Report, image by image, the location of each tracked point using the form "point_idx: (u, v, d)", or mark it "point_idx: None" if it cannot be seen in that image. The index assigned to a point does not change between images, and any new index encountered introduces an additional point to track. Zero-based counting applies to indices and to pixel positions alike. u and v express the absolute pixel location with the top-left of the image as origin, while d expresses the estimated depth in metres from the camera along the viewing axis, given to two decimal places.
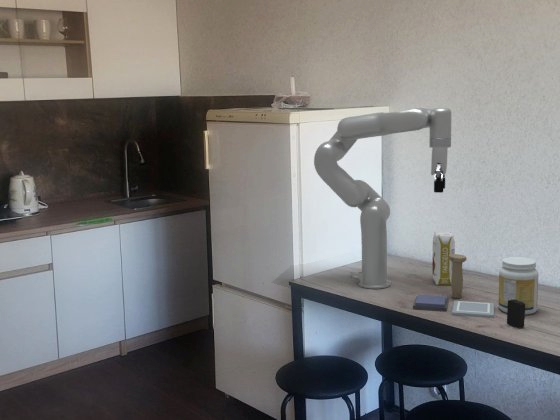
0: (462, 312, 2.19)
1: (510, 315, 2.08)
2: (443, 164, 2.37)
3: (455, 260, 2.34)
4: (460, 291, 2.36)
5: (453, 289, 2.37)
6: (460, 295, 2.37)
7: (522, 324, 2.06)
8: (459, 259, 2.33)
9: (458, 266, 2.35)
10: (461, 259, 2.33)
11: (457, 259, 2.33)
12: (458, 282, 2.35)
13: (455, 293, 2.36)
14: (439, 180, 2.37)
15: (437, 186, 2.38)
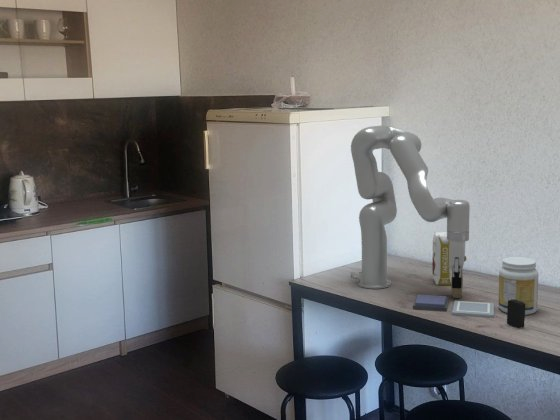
0: (462, 312, 2.19)
1: (510, 315, 2.08)
2: (461, 258, 2.30)
3: None
4: (460, 291, 2.36)
5: (453, 289, 2.37)
6: (460, 295, 2.37)
7: (522, 324, 2.06)
8: None
9: None
10: None
11: None
12: None
13: (455, 293, 2.36)
14: (457, 276, 2.33)
15: (455, 282, 2.34)
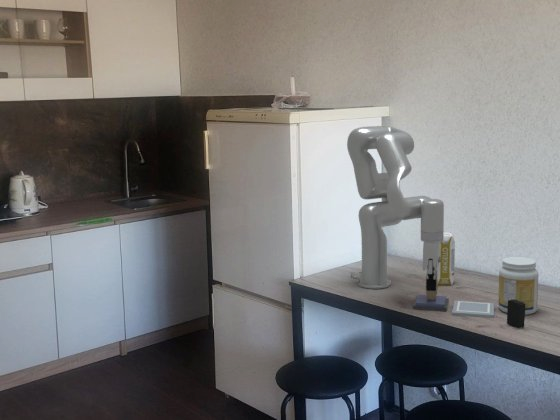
0: (462, 312, 2.19)
1: (510, 315, 2.08)
2: (435, 260, 2.22)
3: None
4: (434, 293, 2.28)
5: (427, 291, 2.28)
6: (435, 297, 2.28)
7: (522, 324, 2.06)
8: None
9: None
10: None
11: None
12: None
13: (429, 295, 2.28)
14: (432, 278, 2.25)
15: (429, 284, 2.26)
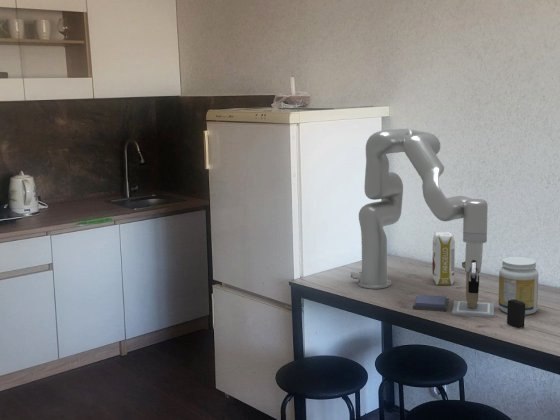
0: (462, 312, 2.19)
1: (510, 315, 2.08)
2: (479, 262, 2.16)
3: None
4: (476, 301, 2.22)
5: (468, 298, 2.23)
6: (476, 305, 2.23)
7: (522, 324, 2.06)
8: None
9: None
10: None
11: None
12: None
13: (470, 303, 2.23)
14: (474, 280, 2.18)
15: (472, 287, 2.19)
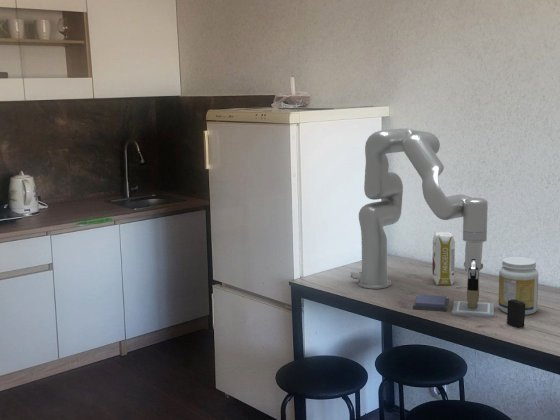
0: (462, 312, 2.19)
1: (510, 315, 2.08)
2: (478, 260, 2.16)
3: None
4: (476, 301, 2.22)
5: (469, 298, 2.23)
6: (476, 305, 2.23)
7: (522, 324, 2.06)
8: None
9: None
10: None
11: None
12: (474, 291, 2.21)
13: (471, 303, 2.23)
14: (474, 278, 2.16)
15: (471, 284, 2.17)
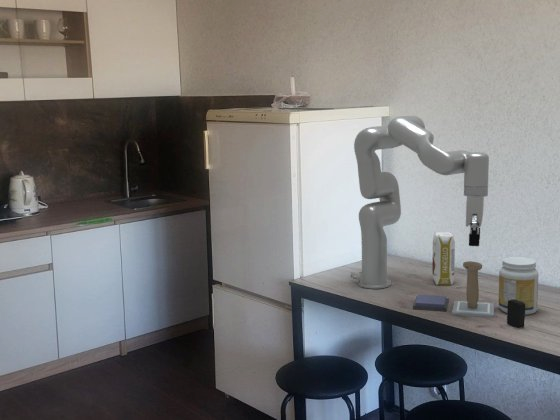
0: (462, 312, 2.19)
1: (510, 315, 2.08)
2: (479, 215, 2.14)
3: (470, 268, 2.19)
4: (476, 301, 2.22)
5: (468, 299, 2.23)
6: (476, 305, 2.23)
7: (522, 324, 2.06)
8: (475, 267, 2.19)
9: (473, 275, 2.21)
10: (476, 267, 2.19)
11: (472, 267, 2.19)
12: (473, 291, 2.21)
13: (471, 303, 2.23)
14: (475, 233, 2.14)
15: (473, 239, 2.15)
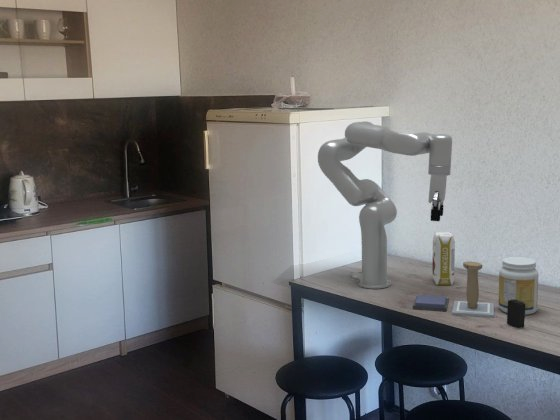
0: (462, 312, 2.19)
1: (510, 315, 2.08)
2: (441, 192, 2.31)
3: (470, 268, 2.20)
4: (476, 301, 2.22)
5: (468, 299, 2.23)
6: (476, 305, 2.23)
7: (522, 324, 2.06)
8: (475, 267, 2.19)
9: (473, 274, 2.21)
10: (477, 267, 2.19)
11: (472, 267, 2.19)
12: (474, 291, 2.21)
13: (471, 303, 2.23)
14: (436, 209, 2.31)
15: (434, 215, 2.32)
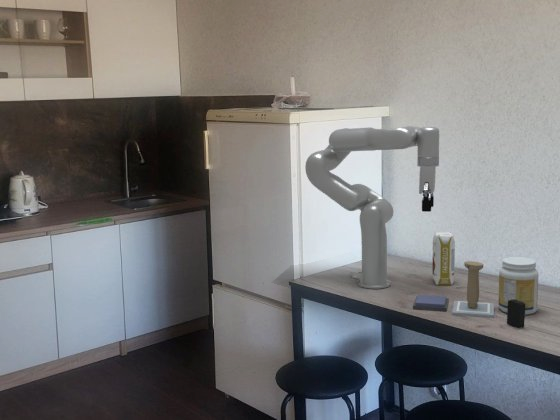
0: (462, 312, 2.19)
1: (510, 315, 2.08)
2: (431, 183, 2.36)
3: (471, 267, 2.20)
4: (476, 301, 2.22)
5: (469, 298, 2.23)
6: (476, 305, 2.23)
7: (522, 324, 2.06)
8: (476, 266, 2.19)
9: (474, 274, 2.21)
10: (478, 266, 2.19)
11: (473, 266, 2.19)
12: (474, 291, 2.21)
13: (471, 303, 2.23)
14: (427, 199, 2.36)
15: (425, 205, 2.37)
